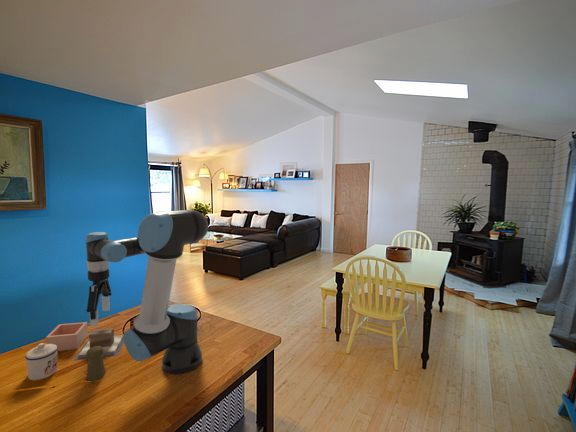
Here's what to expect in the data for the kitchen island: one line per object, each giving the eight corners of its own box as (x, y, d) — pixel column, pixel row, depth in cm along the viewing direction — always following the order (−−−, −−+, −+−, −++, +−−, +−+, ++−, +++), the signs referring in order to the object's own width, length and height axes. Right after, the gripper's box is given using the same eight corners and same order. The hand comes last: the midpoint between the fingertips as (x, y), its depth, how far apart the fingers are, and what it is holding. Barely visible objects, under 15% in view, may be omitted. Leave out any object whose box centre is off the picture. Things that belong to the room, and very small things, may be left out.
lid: (114, 354, 120) (113, 337, 119) (78, 358, 117) (77, 341, 116) (123, 337, 132) (123, 322, 131) (91, 340, 129) (90, 325, 128)
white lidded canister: (49, 380, 104) (47, 350, 103) (20, 382, 102) (17, 352, 101) (68, 360, 116) (66, 332, 114) (42, 361, 114) (40, 334, 113)
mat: (117, 356, 119) (117, 355, 119) (72, 361, 115) (72, 360, 115) (128, 336, 134) (128, 335, 134) (88, 340, 130) (88, 339, 130)
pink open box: (77, 350, 123) (76, 334, 122) (46, 353, 120) (45, 337, 119) (88, 336, 133) (87, 322, 132) (60, 339, 130) (59, 324, 129)
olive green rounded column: (109, 372, 109) (108, 345, 108) (94, 383, 103) (92, 354, 102) (98, 369, 111) (96, 342, 110) (82, 379, 105) (80, 350, 104)
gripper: (99, 261, 131) (101, 305, 134) (74, 280, 107) (77, 334, 110) (117, 260, 133) (119, 304, 136) (97, 279, 109) (99, 332, 112)
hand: (100, 317), depth 123 cm, fingers open, 13 cm apart
